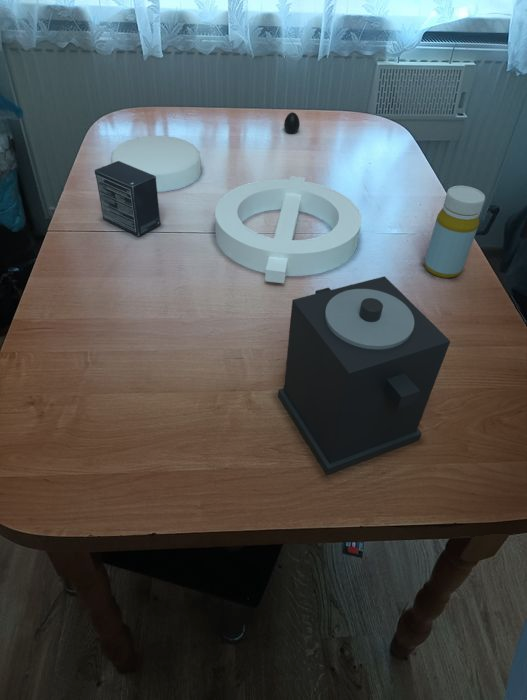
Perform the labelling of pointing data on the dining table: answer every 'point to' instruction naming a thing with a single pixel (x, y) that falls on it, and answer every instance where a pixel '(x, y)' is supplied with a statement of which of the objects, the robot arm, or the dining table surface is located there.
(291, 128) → the egg
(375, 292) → the kettle
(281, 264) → the white circle with bar
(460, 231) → the bottle
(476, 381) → the dining table surface
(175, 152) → the white round disc
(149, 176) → the small box
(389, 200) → the dining table surface
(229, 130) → the dining table surface
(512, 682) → the robot arm
